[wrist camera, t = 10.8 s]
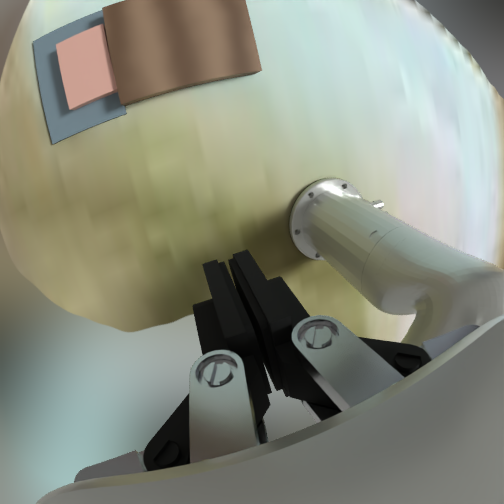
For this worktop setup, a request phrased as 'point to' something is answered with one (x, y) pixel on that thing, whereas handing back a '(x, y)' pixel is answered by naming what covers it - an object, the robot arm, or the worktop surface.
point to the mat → (52, 86)
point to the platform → (177, 44)
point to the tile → (86, 67)
